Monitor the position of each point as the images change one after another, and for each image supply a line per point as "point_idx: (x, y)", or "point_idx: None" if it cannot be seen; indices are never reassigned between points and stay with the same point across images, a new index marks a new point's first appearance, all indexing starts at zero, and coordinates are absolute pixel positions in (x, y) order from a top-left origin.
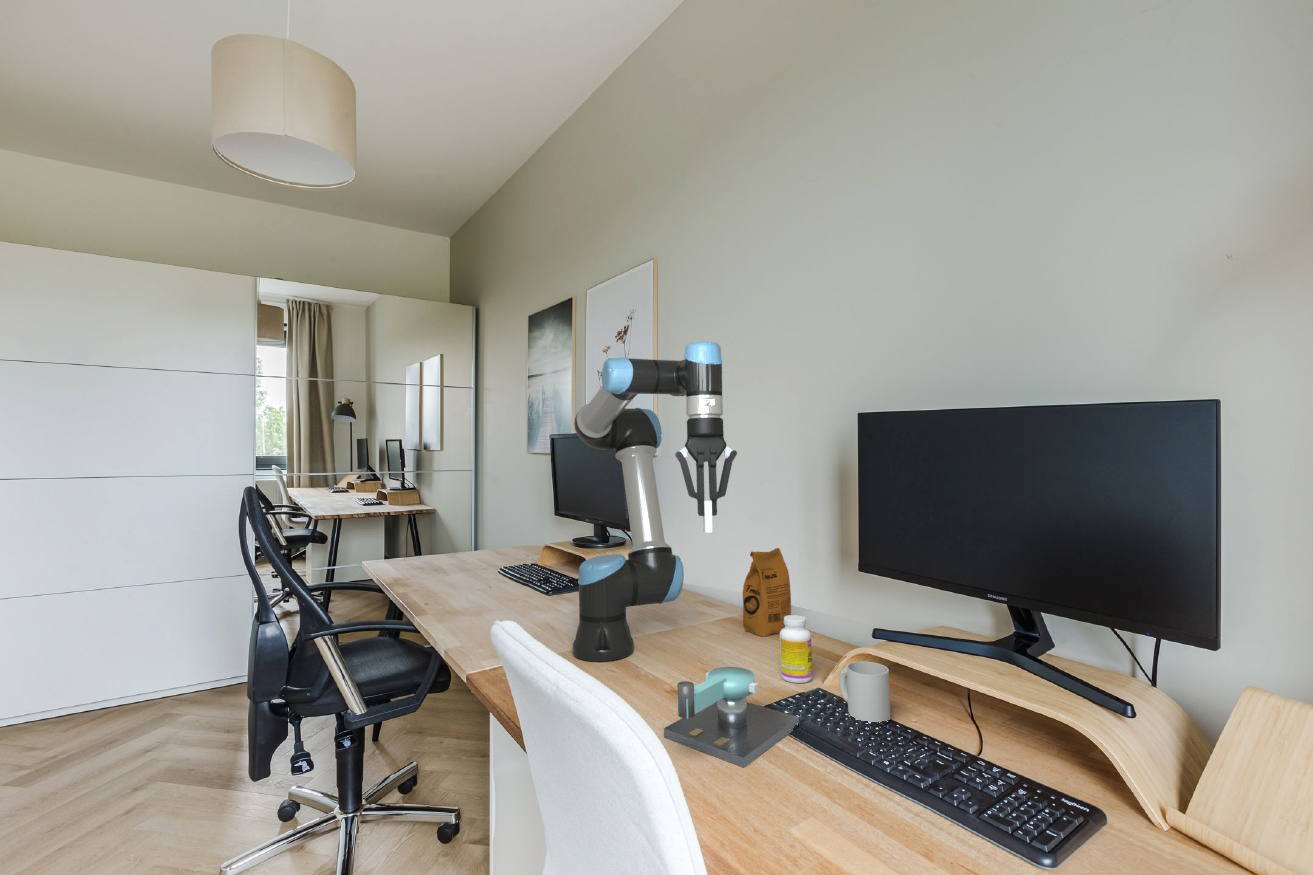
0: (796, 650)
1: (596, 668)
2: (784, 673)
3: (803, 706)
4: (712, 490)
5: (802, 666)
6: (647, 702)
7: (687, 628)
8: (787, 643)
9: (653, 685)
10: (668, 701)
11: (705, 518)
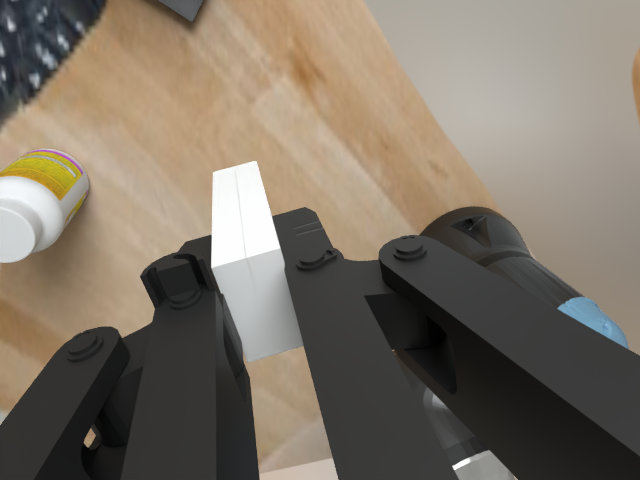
0: (18, 169)
1: (465, 176)
2: (73, 163)
3: (10, 18)
4: (198, 336)
5: (19, 159)
6: (350, 9)
7: (318, 403)
8: (39, 179)
9: (349, 102)
10: (309, 19)
11: (260, 192)
